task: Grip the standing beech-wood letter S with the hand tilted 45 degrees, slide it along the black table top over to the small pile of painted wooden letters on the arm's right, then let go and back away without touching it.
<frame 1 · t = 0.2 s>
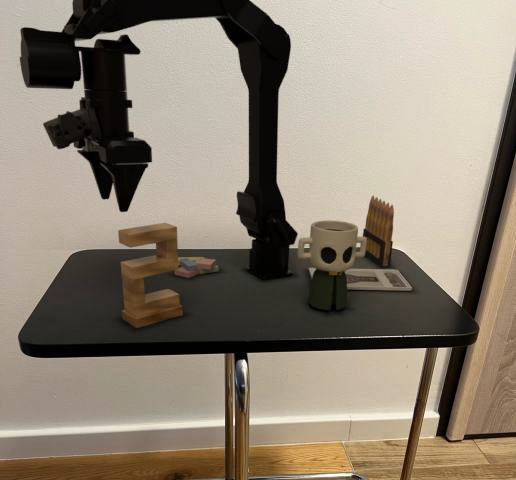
hand: (114, 205, 81), 15 cm above the table, tool pointing down, fingers open, 9 cm apart
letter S: (153, 317, 81), on the table
character mug: (326, 307, 87), on the table
letter pile: (194, 270, 101), on the table
ammunition clip: (374, 260, 111), on the table
graded card: (357, 281, 99), on the table
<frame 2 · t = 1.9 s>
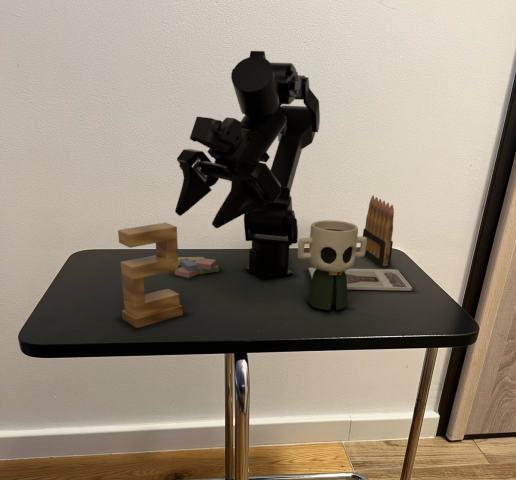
hand: (195, 219, 80), 13 cm above the table, tool tilted 45°, fingers open, 9 cm apart
nothing on the table moved.
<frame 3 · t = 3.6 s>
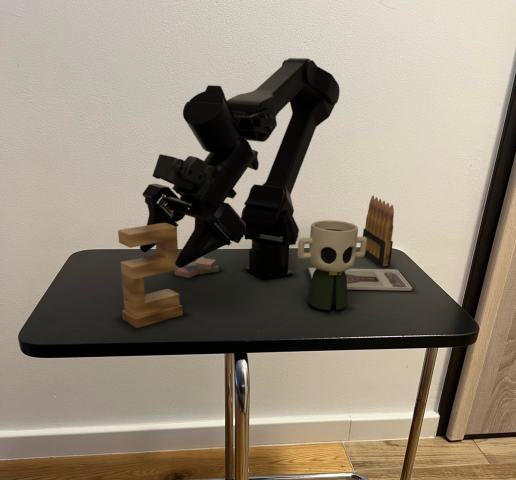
hand: (159, 258, 78), 9 cm above the table, tool tilted 45°, fingers open, 9 cm apart
nothing on the table moved.
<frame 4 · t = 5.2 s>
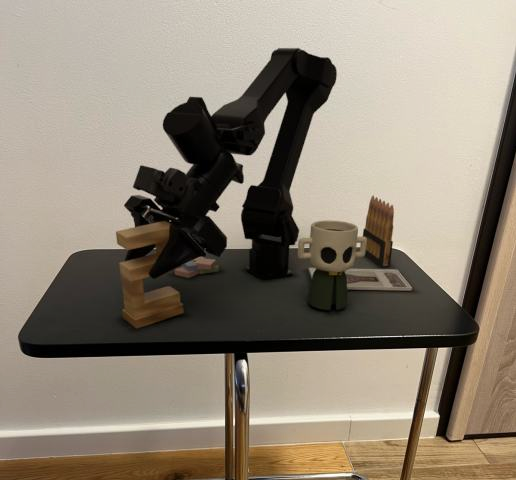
hand: (138, 270, 76), 8 cm above the table, tool tilted 45°, fingers closed on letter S, 6 cm apart
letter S: (153, 315, 80), on the table, tilted 5°, touching gripper
everything else where it was.
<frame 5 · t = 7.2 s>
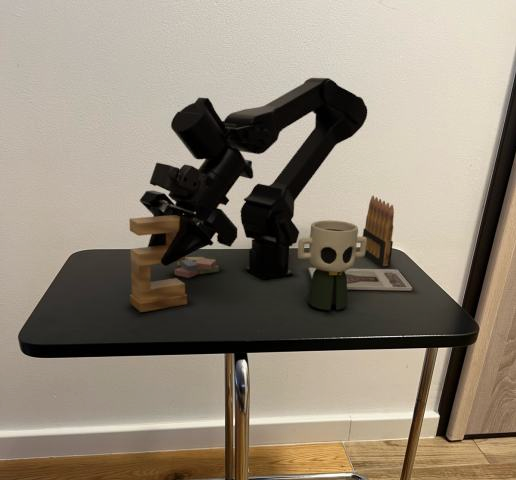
hand: (155, 260, 82), 7 cm above the table, tool tilted 45°, fingers closed on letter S, 4 cm apart
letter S: (158, 304, 85), on the table, touching gripper
everything else where it was.
when the fingers open (7 cm above the table, at t = 9.4 s): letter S stays where it is, on the table.
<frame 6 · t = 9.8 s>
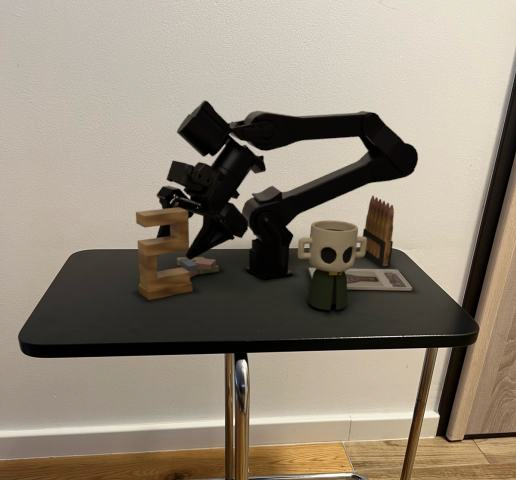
hand: (171, 251, 88), 7 cm above the table, tool tilted 45°, fingers open, 9 cm apart
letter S: (165, 292, 90), on the table
everything else where it was.
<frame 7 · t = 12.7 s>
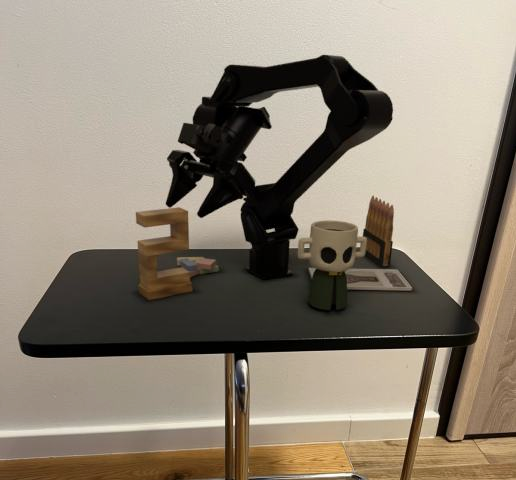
hand: (182, 211, 93), 12 cm above the table, tool tilted 45°, fingers open, 9 cm apart
nothing on the table moved.
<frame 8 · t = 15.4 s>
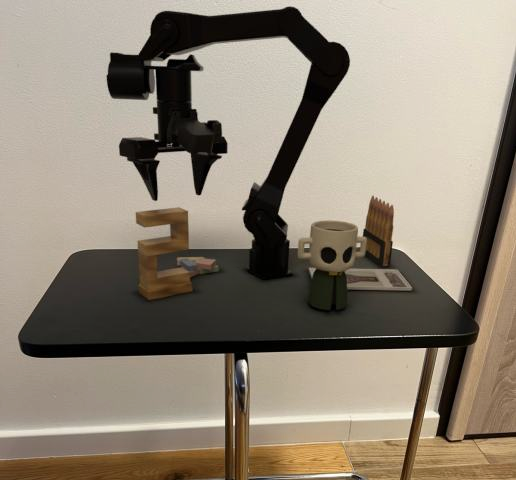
hand: (177, 197, 96), 13 cm above the table, tool pointing down, fingers open, 9 cm apart
nothing on the table moved.
at the end: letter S 12.3 cm from the letter pile (horizontally); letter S moved 10.7 cm from its start; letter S tilted 0° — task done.
